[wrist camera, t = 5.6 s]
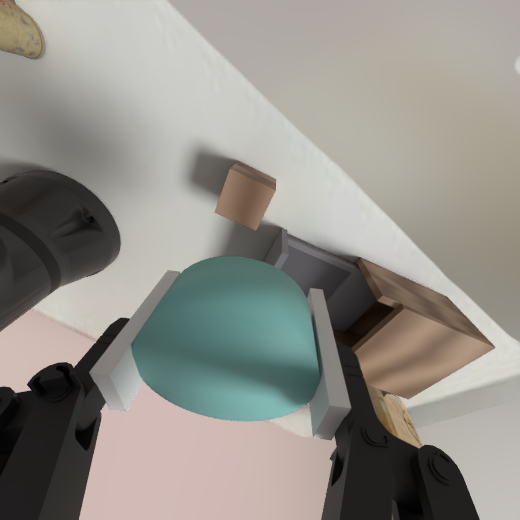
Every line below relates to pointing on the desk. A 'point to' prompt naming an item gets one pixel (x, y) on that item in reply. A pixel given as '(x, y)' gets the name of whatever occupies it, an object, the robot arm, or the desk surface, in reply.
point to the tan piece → (394, 416)
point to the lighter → (19, 32)
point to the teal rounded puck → (231, 342)
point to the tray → (323, 278)
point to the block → (245, 195)
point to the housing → (409, 335)
